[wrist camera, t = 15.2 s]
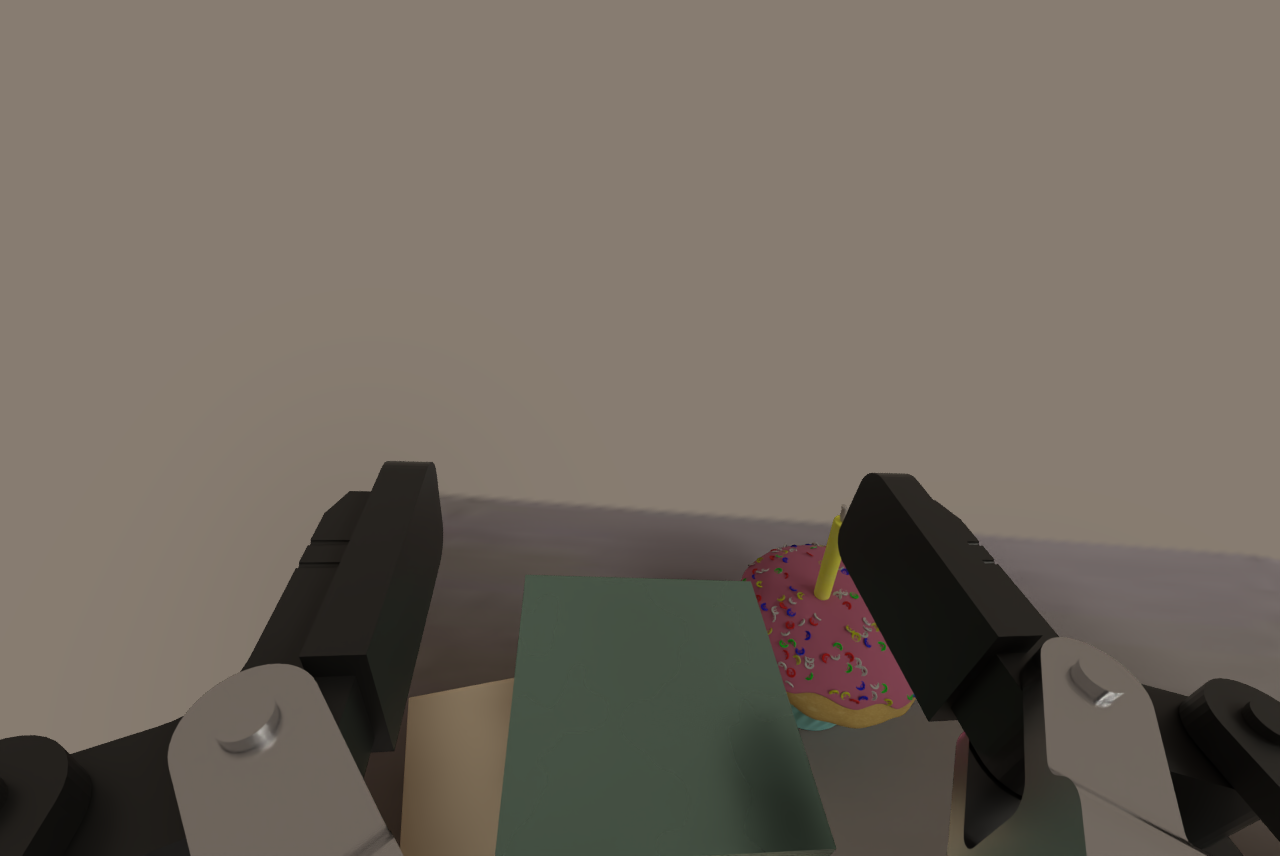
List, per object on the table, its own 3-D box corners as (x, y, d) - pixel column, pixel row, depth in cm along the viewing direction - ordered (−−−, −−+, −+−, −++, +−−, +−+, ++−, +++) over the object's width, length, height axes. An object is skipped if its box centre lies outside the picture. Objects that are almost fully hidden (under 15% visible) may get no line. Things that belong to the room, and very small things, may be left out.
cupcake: (765, 799, 22) (871, 616, 15) (686, 624, 29) (737, 442, 22) (926, 742, 25) (1075, 567, 18) (821, 595, 31) (902, 425, 25)
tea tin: (689, 738, 19) (751, 581, 15) (725, 972, 14) (836, 848, 10) (518, 741, 18) (525, 574, 14) (494, 991, 13) (493, 866, 9)
